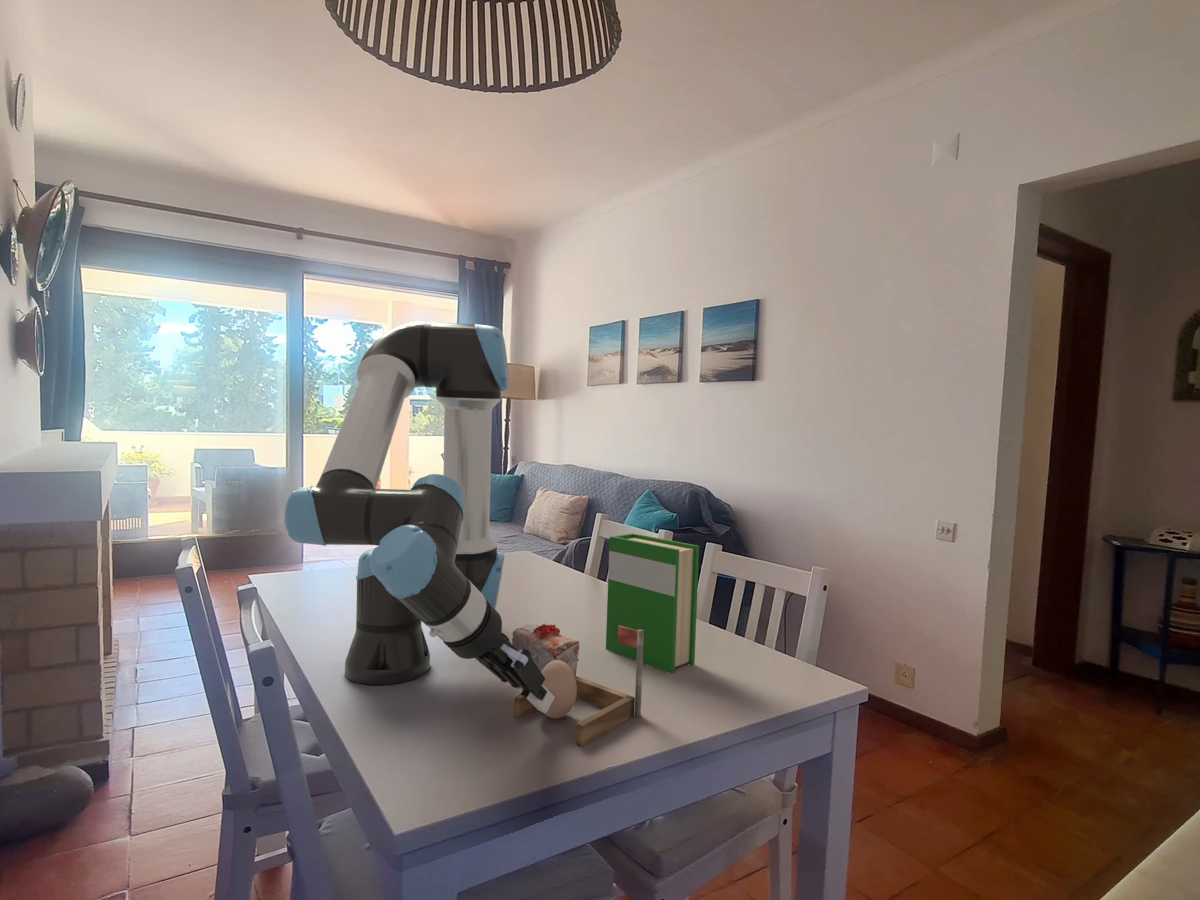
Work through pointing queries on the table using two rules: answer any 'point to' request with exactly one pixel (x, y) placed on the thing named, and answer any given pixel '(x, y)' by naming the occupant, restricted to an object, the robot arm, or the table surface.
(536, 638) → the food item
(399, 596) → the robot arm
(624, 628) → the mini golf hole
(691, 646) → the hardback book
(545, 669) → the egg
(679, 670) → the table surface
